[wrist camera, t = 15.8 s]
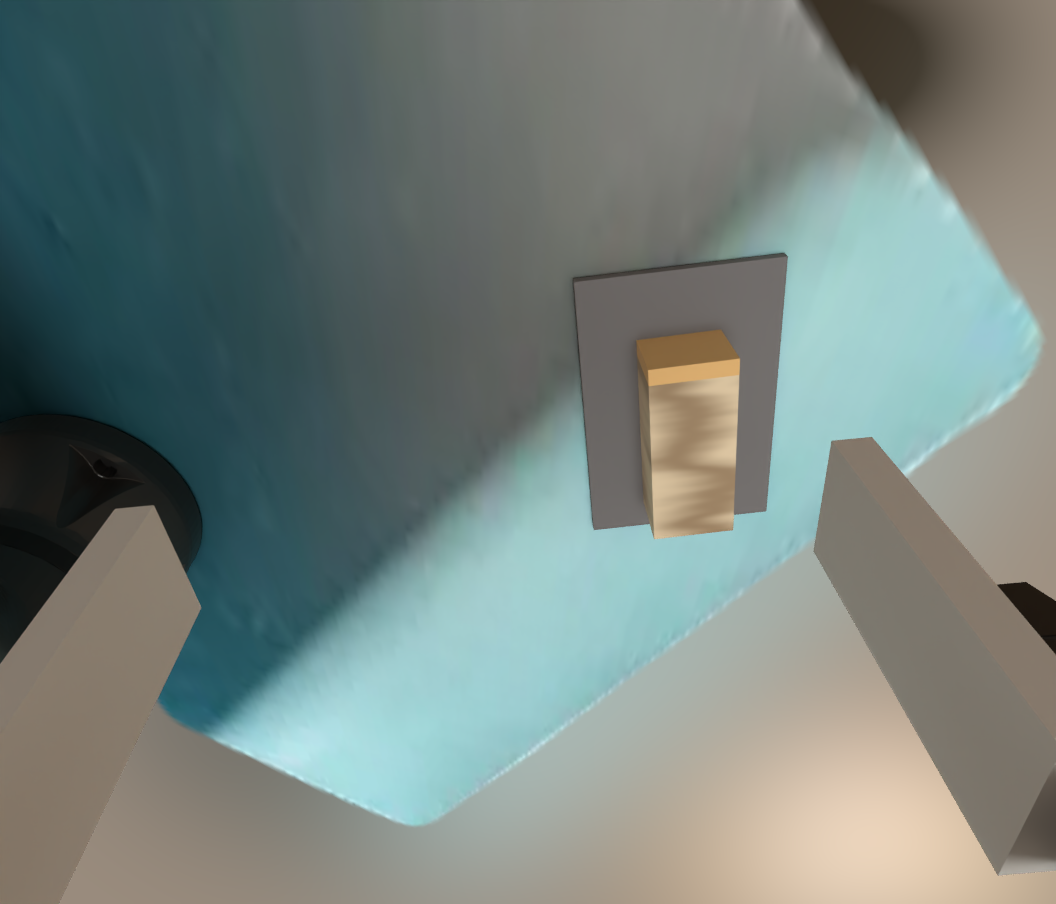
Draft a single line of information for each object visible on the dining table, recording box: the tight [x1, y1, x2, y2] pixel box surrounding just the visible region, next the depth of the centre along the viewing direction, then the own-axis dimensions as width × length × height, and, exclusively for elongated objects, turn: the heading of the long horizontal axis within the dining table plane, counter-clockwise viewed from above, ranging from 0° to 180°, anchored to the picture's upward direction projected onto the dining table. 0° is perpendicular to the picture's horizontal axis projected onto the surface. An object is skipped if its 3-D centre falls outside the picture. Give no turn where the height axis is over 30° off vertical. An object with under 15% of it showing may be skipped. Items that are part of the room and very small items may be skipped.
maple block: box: [636, 330, 740, 539], centre depth 44 cm, size 5×4×12 cm
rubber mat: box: [573, 253, 788, 530], centre depth 45 cm, size 12×18×1 cm, turn 7°
